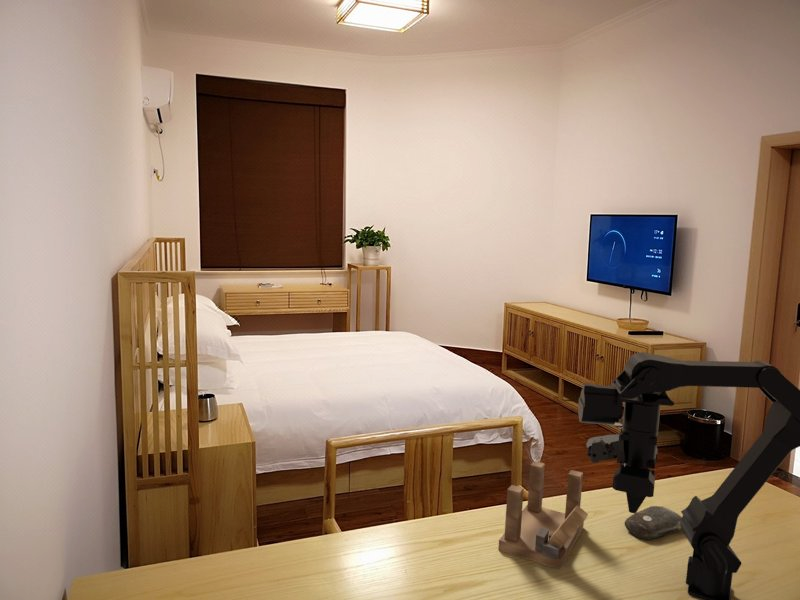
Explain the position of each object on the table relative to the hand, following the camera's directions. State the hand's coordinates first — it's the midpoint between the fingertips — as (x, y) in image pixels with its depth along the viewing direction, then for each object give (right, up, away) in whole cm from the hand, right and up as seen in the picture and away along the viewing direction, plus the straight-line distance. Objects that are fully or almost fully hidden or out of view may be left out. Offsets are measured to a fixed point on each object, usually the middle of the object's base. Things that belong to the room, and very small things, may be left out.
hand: (632, 512), depth 104 cm
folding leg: (-12, -9, +7) cm, 16 cm away
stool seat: (-12, -11, +15) cm, 22 cm away
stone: (+13, -11, +21) cm, 27 cm away
